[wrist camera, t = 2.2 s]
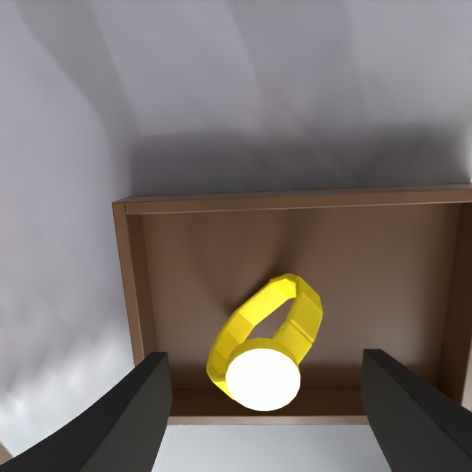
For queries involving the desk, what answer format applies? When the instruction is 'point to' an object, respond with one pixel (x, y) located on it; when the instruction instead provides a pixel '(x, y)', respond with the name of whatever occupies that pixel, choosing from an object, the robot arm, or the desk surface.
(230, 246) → the tray
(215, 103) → the desk surface
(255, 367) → the watch
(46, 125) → the desk surface
